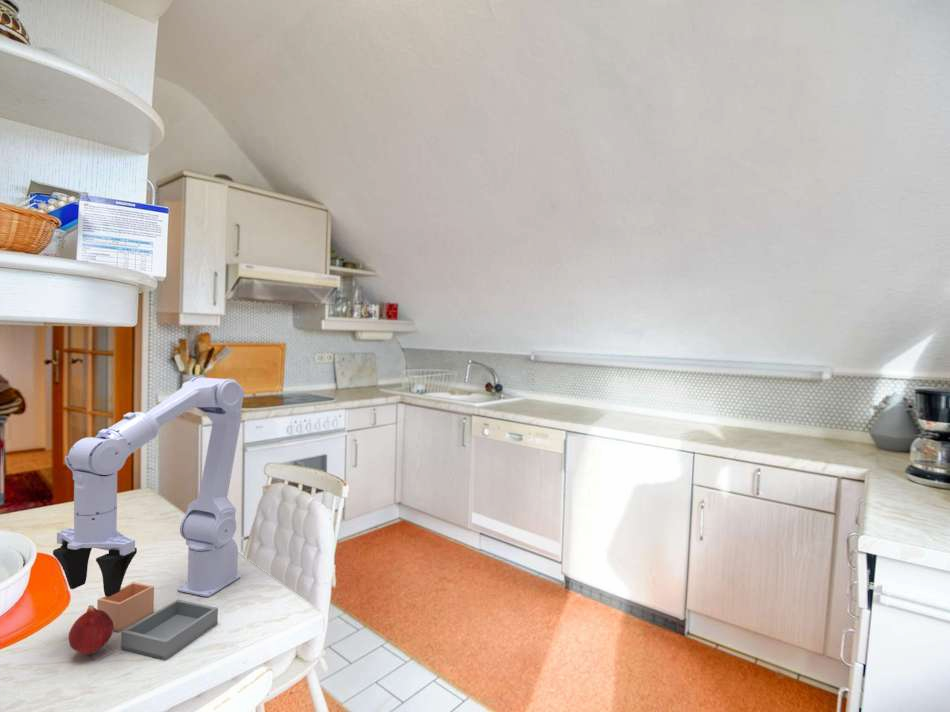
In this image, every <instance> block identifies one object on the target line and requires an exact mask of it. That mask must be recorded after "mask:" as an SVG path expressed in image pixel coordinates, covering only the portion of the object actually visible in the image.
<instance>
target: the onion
mask: <svg viewBox="0 0 950 712" xmlns="http://www.w3.org/2000/svg"><path fill="white" fill-rule="evenodd" d="M113 628H114V626H113V621H112V619H111V618H110V617H109V615H108V614H107V613H106V612H104V611H102V610H97V608H96V607H95V606H94V605H88V607H87V609H86V612H85V613H83V614H82V615H80V616H79V617H78V618H77V619H76V620H75V622H74V623H73V624H72V626H71V628H70V630H69V633H68V637H67V639H68V642H69V647H70V648H72V649H73V650H74V651H76V652H77V653H79V654H83V655H85V656H91V655H93V654H94V653H96V652H97V651H99V650H100V649H101V648H102V647H104V646H105V645H106V644H107V643H108V642H109V641H110V639H111V638H112V637H111V636H112V634H113V632H114V631H113Z"/></svg>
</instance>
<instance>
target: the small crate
mask: <svg viewBox="0 0 950 712" xmlns="http://www.w3.org/2000/svg"><path fill="white" fill-rule="evenodd" d="M96 600H97V605H96V607H97V608H96V609H97V610H102V611H104V612H106V613H107V614H108V615H109V617H110V618H111V619H112V621H113V626H114V628H113V632H117V633H121V632H122V631H124V630H125V629H127V628H129V627H131V626H132V625H134V624H136V623H137V622H139V621H141V620H143V619H144V618H146V617H148V616H150V615H151V614H153V613H155V612H154V609H155V607H154V606H155V605H154V604H155V585H151V584H145V583H140V582H135V581H133V582H130V583H129V584H126V585H125V586H121V589H120V592H118V593H116V594H114V595H112V596H110V597H106V596H105V595H104V596H102V597H100V598H98V599H96Z"/></svg>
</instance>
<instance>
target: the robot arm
mask: <svg viewBox="0 0 950 712" xmlns="http://www.w3.org/2000/svg"><path fill="white" fill-rule="evenodd" d="M244 397H245V390H244V389H243V387H242V386H241V385H240V383H239V382H238V381H237V380H236V379H233V378H215V377H204V376H195V377H193V378H191V379H190V380H189V381H185V382H184V383H182V385H181V388H179V389H178V390H177V391H175V392H174V393H173V394H171V395H170V396H168V397H167V398H165V399H164V400H163V401H161V402H160V403H158V404H157V405H155V406H154V407H153V408H150V410H148V411H147V412H143V411H135V412H127V413H125V414H123V419H121V420H120V421H118V422H116V423H114V424H113V425H111V426H109V427H108V428H102V429H101V430H99V431H98V432H97V434H96V435H95V437H91V436H90V437H88V436H87V437H84V438H81V439H80V440H78V441H76V442H75V443H74V444H73V445H72V446H71V447H70V449H69V452H68V455H67V456H64V461H65V465H66V466H67V468H69V470H71V472H72V480H73V481H74V483H73V488H74V489H73V528H71V527H70V528H66V529H62V530H59V531H57V532H56V544H59V545H60V547H58V548H55V549H54V550H52V555H53V556H54V557H55V558H56V560H57V561H58V562H59V565H60V566H61V568H62V570H63V572H64V575H65V578H66V581H67V584H68V587H69V589H70V590H75V589H77V588H79V587H82V586H84V585H86V581H87V577H88V565H89V559H90V555H91V552H92V550H93V549H98V550H104V551H108V553H105V554H103V555H101V556H98V557H95V562H96V563H97V565H98V567H99V570H100V572H101V574H102V575H101V576H102V585H103V593H104V596H106V597H110V596H112V595H114V594H116V593H118V592H120V589H121V588H122V586H123V585H122V584H123V582H124V578H125V575H126V572H127V570H128V568H129V566H130V564H131V562H132V561H133V559H134V557H135V556H136V554H137V552H138V551H137V550H138V549H137V548H138V547H136V539H133V538H130V537H128V536H126V535H125V534H123V533H121V532H120V531H118V530H117V529H118V528H117V527H118V526H117V521H118V520H117V519H118V518H117V515H118V471H120V470H121V469H122V468H123V466H124V465H125V464H126V461H127V460H128V457H130V456H131V454H133V453H135V452H136V451H137V450H138V449H140V448H142V447H143V446H144V445H147V444H148V443H149V442H150V441H152V440H153V439H155V438H156V437H157V436H158V433H159V428H160V427H162V426H163V425H165V424H167V423H169V422H170V421H173V420H174V419H176V418H178V417H179V416H181V415H182V414H183V415H184V413H186V412H188V411H190V410H191V409H193V408H196V409H197V410H198V411H200V412H202V413H203V414H205V415H206V417H207V418H208V419H209V420H210V421H211V423H212V424H211V429H210V430H211V431H210V435H209V441H208V445H207V449H206V456H205V462H204V465H203V466H204V467H203V472H202V477H201V482H200V489H199V492H198V493H199V494H198V496H197V498H196V499H194V500H193V501H191V502H190V503H189V504H188V505H187V509H186V513H185V514H184V516H183V518H182V520H181V522H180V526H179V533H180V536H181V537H182V539H184V540H185V545H186V546H188V547H187V548H188V549H187V551H188V552H187V582H185V583H184V584H183V585H181V586H178V587H177V588H176V590H177V592H182V593H187V594H192V595H196V596H201V597H206V598H207V597H210V596H212V595H214V594H215V593H217V592H218V591H221V590H222V589H223V588H225V587H227V586H228V585H230V584H232V583H233V582H235V581H236V580H238V579H240V578H241V574H239V573H238V558H239V557H238V556H239V554H238V553H239V549H238V545H237V541H236V540H235V539H234V536H235V534H236V530H237V521H236V512H237V509H236V507H235V505H234V504H233V503H232V502H231V501H230V500H229V498H228V494H229V489H230V485H231V484H230V483H231V478H232V471H233V466H234V462H235V456H236V452H237V451H236V450H237V447H238V439H239V435H240V434H239V433H240V428H241V423H242V415H243V413H242V409H243V408H242V407H243V402H244Z"/></svg>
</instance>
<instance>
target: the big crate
mask: <svg viewBox="0 0 950 712" xmlns="http://www.w3.org/2000/svg"><path fill="white" fill-rule="evenodd" d="M218 612H219V608H218V607H215V606H210V605H205V604H201V603H196V602H191V601H187V600H182V599H175V600H174V601H172V602H171V603H169V604H167V605H166V606H163V607H162V608H160V609H158V610H157V611H155V612H153V613H151V614H150V615H148V616H146V617H144V618H143V619H141V620H139V621H137V622H136V623H134V624H132V625H130V626H129V627H127V628H125V629H123V630H122V631H120V633H121V638H120V639H121V640H120V641H121V642H120V644H121V645H120V649H121V650H122V651H126V652H131V653H134V654H139V655H141V656H142V655H143V656H146V657H150V658H155V659H158V660H163V661H167V660H168V659H170V658H171V657H173V656H174V655H175V654H177V653H178V652H179V651H181V650H182V649H184V648H185V647H187V646H188V645H189V644H191V643H192V642H194V641H196V640H197V639H198V638H200V637H201V636H203V635H205V633H207V632H208V631H210V630H211V629H213V627H214V628H215V626H216V625H218V621H219V619H218V616H219V615H218V614H219V613H218Z"/></svg>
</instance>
